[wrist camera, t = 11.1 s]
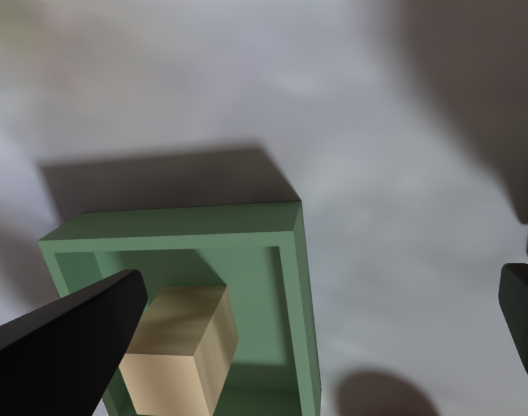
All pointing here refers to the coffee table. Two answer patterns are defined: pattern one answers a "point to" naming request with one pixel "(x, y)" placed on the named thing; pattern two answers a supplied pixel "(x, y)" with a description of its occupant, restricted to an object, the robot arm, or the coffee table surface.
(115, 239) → the green bin
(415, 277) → the coffee table surface
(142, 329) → the beech block
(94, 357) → the robot arm
